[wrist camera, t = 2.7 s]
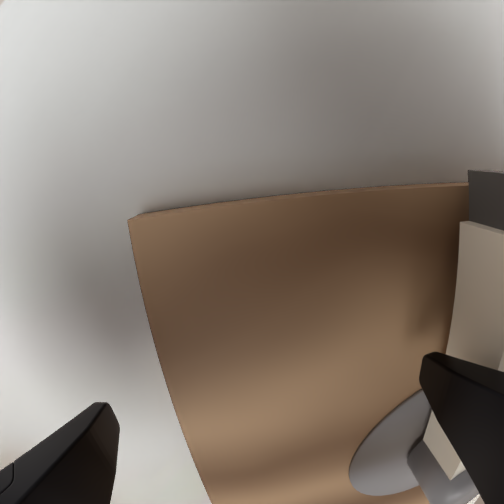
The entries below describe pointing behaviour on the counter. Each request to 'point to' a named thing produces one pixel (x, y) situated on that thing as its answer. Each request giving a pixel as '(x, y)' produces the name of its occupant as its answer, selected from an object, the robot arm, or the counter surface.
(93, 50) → the counter surface
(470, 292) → the dial lever
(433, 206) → the dial board
